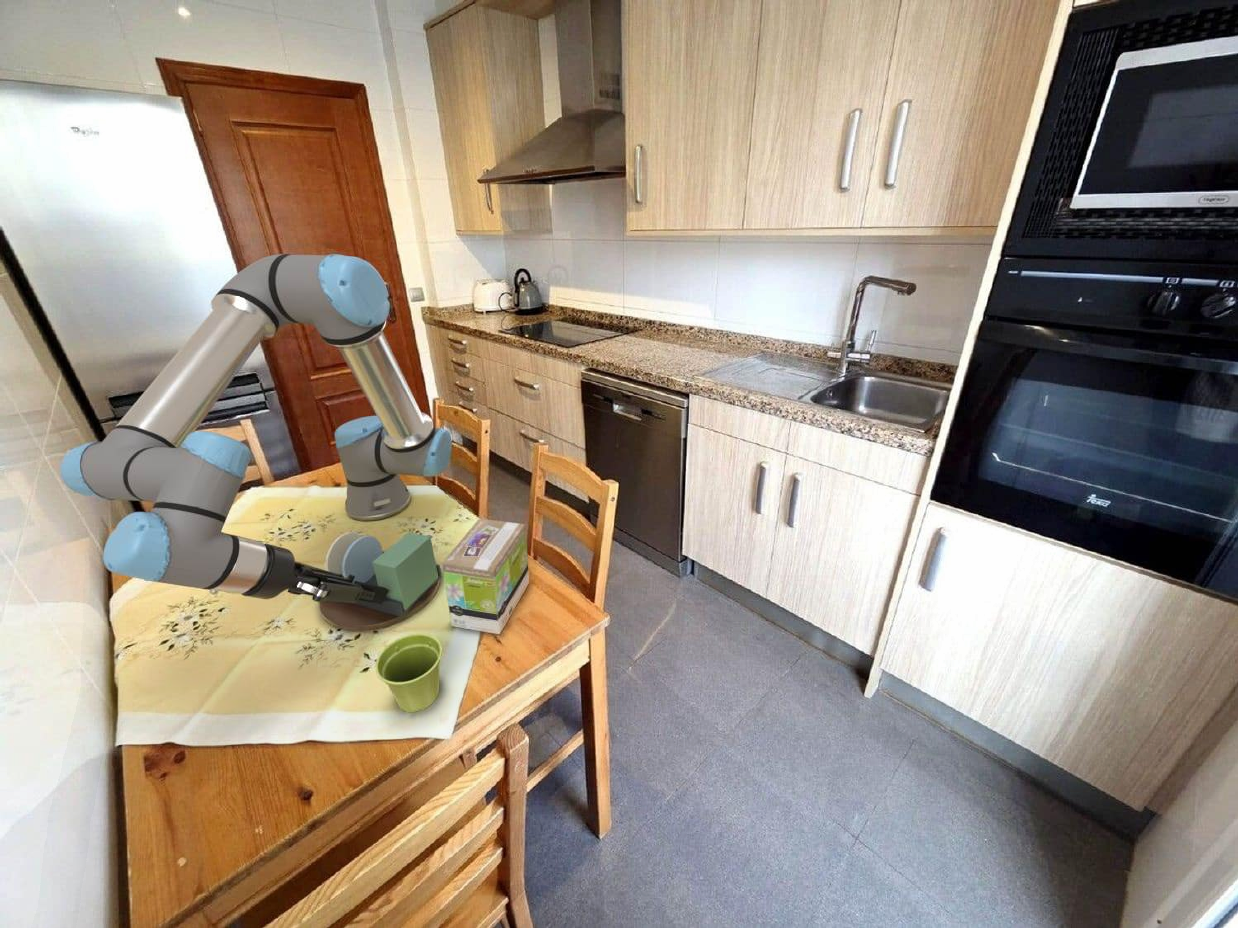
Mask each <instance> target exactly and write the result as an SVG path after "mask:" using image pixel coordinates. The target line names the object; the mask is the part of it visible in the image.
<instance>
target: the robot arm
mask: <svg viewBox="0 0 1238 928" xmlns="http://www.w3.org/2000/svg"><path fill="white" fill-rule="evenodd" d="M389 297H390V296H389V292H388V288H387V284H386V283H385V281H384V279H383V278H382V275H381V274H380V273H379V271H378V270H377V269H376V268H375V267H374V266H373V265H372V264H371V263H370V262H368V261H367V260H365V259H362V258H361V257H358V256H349V255H344V254H337V253H331V254H289V253H278V254H273V255H269V256H265V257H262V258H260V259H258V260H256V261H254V262H252V263H251V264H249V265H247V266H246V267H245V268H242V269H241V270H240V271H239V272H238V273H237V274H235V275H234V276H233V277H231V279H229V280H228V281H227V282H226V283H225V284H224V285H223V286H222V287H221V288H220V289H219V291H217V293H216V294H215V295H214V296H213V298H212V299H211V302H210V306H211V309H212V311H211V312H210V313H209V314H208V316H207V317H206V318H205V319H204V321H203V322H202V323H201V324H200V325H199V327H198V328H197V329H196V330H195V331H194V332H193V334H191V335H190V336H189V338H188V339H187V341H186V342H185V343H184V344H183V345H182V346H181V348H180V349H179V350H178V351H177V353H176V354H175V355H174V356H173V358H172V359H170V361H169V362H168V363H167V365H165V367H164V368H163V369H162V370H161V372H160V373H159V374H158V375H157V376H156V377H155V379H154V380H153V381H152V382H151V384H149V386H148V387H147V389H145V391H144V392H143V393H142V394H141V395H140V396H139V398H138V399H137V401H136V400H135V401H136V402H134V404H133V405H132V406H131V407H130V408H129V410H128V411H127V412H126V413H125V415H123V417H122V418H121V419H120V420H119V421H118V422H117V424H116V425H115V426H114V428H113V429H112V430H111V431H110V432H109V433H108V435H107V436H106V437H105V438H104V439H103V440H102V441H95V442H86V443H82V444H80V445H78V446H76V447H73V448H72V449H70V450H69V451H68V452H67V453H66V454H65V455H64V457H63V459H62V461H61V464H60V471H59V472H60V476H61V479H62V481H63V483H64V484H65V485H66V487H68V489H70V490H71V491H73V492H74V493H75V494H78V495H82V496H85V497H90V498H91V497H92V498H96V499H101V500H102V499H104V500H107V501H116V500H117V501H118V500H119V501H121V500H122V501H137V502H139V501H140V502H145V503H146V502H147V503H153V507H152V508H151V510H150V511H147V512H144V511H135V512H131V513H130V514H127V515H126V516H125V517H124V518H122V519H121V520H120V521H118V523H117V525H116V527H115V529H114V530H113V531H111V533H110V534H109V536H108V538H107V540H106V542H105V545H104V547H103V552H102V560H103V565H104V567H105V568H106V569H107V570H108V571H109V572H111V573H112V574H116V575H121V576H125V577H130V578H135V579H140V580H144V581H146V582H153V583H154V582H155V583H161V584H166V585H174V586H180V587H181V586H182V587H188V588H194V589H200V590H201V589H202V590H206V591H207V590H209V594H211V595H212V596H213V595H214V596H215V595H217V594H219V592H221V593H225V594H232V595H241V596H244V597H248V598H255V599H261V600H270V599H274V598H276V597H277V596H279V595H280V594H282V593H283V592H285V591H287V593H289V594H292V595H296V596H298V595H299V596H300V595H307V596H312V598H311V599H312V601H314V602H317V603H320V602H321V601H333V602H345V603H349V604H352V603H357V601H358V600H361V601H366V602H371V603H377V604H382V603H383V601H384V599H385V597H386V596H387V594H388V592H389V590H388V589H386V588H385V587H380V586H376V585H371V584H367V583H363V582H358V581H355V582H354V583H352V582H353V580H354V578H355V576H353V575H349V577H348V578H344V576H343V575H342V574H337V573H333V572H330V571H326V569H323V568H319V567H315V566H312V565H309V564H306V563H302V562H300V561H297V560H296V558H295V556H294V554H293V552H292V550H290V549H288V548H286V547H281V546H277V545H274V544H270V543H264V542H262V541H260V540H256V539H252V538H247V537H244V536H240V535H236V534H231V533H226V532H223V531H222V530H223V528H224V526H225V523H226V521H227V518H228V516H229V515H230V512H231V509H232V506H233V505H234V502H235V500H236V498H237V495H238V493H239V490H240V488H241V486H242V483H243V481H244V480H245V478H246V477H247V476H246V472H247V469H248V467H249V465H250V464H249V463H250V461H251V457H252V452H251V449H250V448H249V446H247V445H246V444H245V443H243V442H241V441H239V440H237V439H235V438H233V437H231V436H227V435H224V434H221V433H216V432H212V431H205V430H197V429H198V427H199V426H200V425H201V423H202V422H203V421H204V419H205V418H206V417H207V415H208V414H209V413H210V411H211V410H212V408H213V407H214V406H215V404H216V403H217V402H218V400H219V399H220V398H221V396H223V393H224V392H225V390H226V389H227V388H228V387H229V386H230V384H231V382H232V381H233V380H234V378H235V377H236V376H237V374H238V373H239V371H240V370H241V369H242V367H243V366H244V365H245V364H246V362H247V361H248V359H249V358H250V357H251V356H252V354H253V352H254V351H255V350H256V349H257V347H258V346H259V344H260V343H261V342H262V341H266V340H270V339H272V338H273V337H275V335H276V333H277V332H278V330H279V329H281V328H283V327H285V326H289V325H292V324H298V325H299V324H301V325H312V326H314V327H315V329H316V331H317V332H318V334H319V335H320V337H321V339H322V340H323V342H324V343H325V344H327V345H328V346H333V347H336V348H337V349H338V351H339V352H340V354H341V356H342V358H343V360H344V361H345V363H346V364H347V367H348V368H349V370H350V371H351V374H352V375H353V377H354V378H355V380H356V382H357V384H358V385H359V387H360V389H361V391H362V392H363V394H364V396H365V398H366V400H367V402H368V403H369V405H370V407H371V408H372V410H373V412H374V413H375V415H370V416H369V415H368V416H363V417H359V418H355V419H352V420H349V421H347V422H344V423H343V424H341V425H340V426H338V427H337V429H336V430H335V431H334V439H335V448H336V450H337V453H338V457H339V461H340V463H341V467H342V471H343V474H344V477H345V480H346V484H347V486H346V499H345V502H344V507H345V512H346V514H347V516H348V517H349V519H353V520H356V521H362V522H374V521H380V520H384V519H388V518H391V517H393V516H396V515H398V514H400V513H402V512H404V510H406V509H407V508H408V507H409V505H410V503H411V501H412V497H411V493H410V491H409V489H408V487H407V486H406V485H405V482H404V481H403V479H402V477H400V475H402V476H414V477H424V478H427V477H438V476H441V475H442V474H443V473H444V472H445V471H446V470H447V468H448V466H449V464H450V459H451V456H452V449H453V441H452V435H451V432H450V430H448V429H446V428H444V427H440V428H439V427H436V425H435V423H434V421H433V419H432V418H431V417H430V415H429V414H426V413H425V412H421V410H420V408H419V405H418V403H417V401H416V399H415V396H414V395H413V392H412V391H411V388H410V386H409V385H408V382H407V380H406V378H405V376H404V373H403V372H402V370H401V367H400V365H399V363H398V361H397V359H396V357H395V355H394V353H393V350H392V349H391V346H390V344H389V342H388V340H387V338H386V336H385V334H384V331H383V330H384V329H385V327H386V324H387V318H388V317H389V313H390V305H391V303H390V301H389V300H388V298H389ZM196 430H197V431H196Z"/></svg>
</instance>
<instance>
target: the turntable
mask: <svg viewBox="0 0 1238 928" xmlns="http://www.w3.org/2000/svg"><path fill="white" fill-rule="evenodd" d="M440 584H441V579H440V580H439V581H438V582H437V583H436V584H435V585H434V586H433V587H432V588H431V589H430V590H429V591H428V592H427V593H426V594H425V595H424V596H423V597H422V598H421V599H420V600H419V601H418V602H417V603H416V604H415V605H414V606H413V607H412V608H411V609H410V610H409V612H408V613H407V614H406V615H405V616H404V617H398V616H395V615H391V614H388V613H384V612H381V611H377V610H373V609H370V608H366V607H363V606H359V605H356V604H349V603H345V602H333V601H321V602H318V603H319V610H320V613H321V616H322V618H323V619H324V620H325V621H326V622H327V623H328V624H329V625H330V626H331V627H333V628H336V629H338V630H342V631H346V632H370V631H376V630H380V629H384V628H389V627H390V626H393V625H396V624H399V623H402V622H404V621H405V620H407V619H409V618H411V617H412V616H414V615H416V614H418V613H419V612H420V611H421V610H422V609H424V608H425V607H426V606H427V605H428V604H429V603H431V601H432V600H433V599H434V597H435V595H436V594H437V592H438V590H439V588H440Z"/></svg>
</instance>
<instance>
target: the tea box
mask: <svg viewBox="0 0 1238 928" xmlns="http://www.w3.org/2000/svg"><path fill="white" fill-rule="evenodd" d="M441 567H442V575H443V580H444V586H445V587H444V588H445V594H446V599H447V604H448V611H449V618H450V623H451V627H455V628H460V629H467V630H471V631H478V632H484V633H489V634H495V635H501V633H502V631H503V629H504V628H505V626H506V625H507V623H508V620H509V619H510V617H511V616H512V614H513V612H514V610H515V608H516V606H517V605H518V603H519V602H520V600H521V598H522V596H523V594H524V593H525V591H526V589H527V587H528V586H529V584H530V571H529V557H528V542H527V529H526V524H525V523H518V522H510V521H503V520H494V519H489V518H488V519H487V518H480V517H479V518H478V519H477V521H476V522H475V523H474V524H473V525H472V527H471V528H470V529H469V530H468V531H467V533H466V534H465V535H464V536H463V537H462V538H461V540H460V541H459V542H458V543H457V545H456V546H455V547H454V548H453V549H452V551H451V552H450V553H449V554H448V555H447V556H446V558H445V559H443V561H442V563H441Z"/></svg>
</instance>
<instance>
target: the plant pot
mask: <svg viewBox="0 0 1238 928" xmlns="http://www.w3.org/2000/svg"><path fill="white" fill-rule="evenodd" d="M442 656H443V646H442V643H441V642H440V640H439V639H438V638H437V637H436V636H434V635H432V634H429V633H411V634H407V635H404V636H401V637H399V638H396V639H395V640H393V641H392V642H390V643H389V644H388V645H386V647H384V648H383V649H382V650H381V652H380V653H379V655H378V657H377V659H376V661H375V666H374V668H375V673H376V675H377V677H378V679H379V680H380V681H382V682H383V683H385V684H386V685H387V687H388V688H389V690H390V692H391V693H392V695H393V698H395V701H396V703H397V705H398V706H399V708H400V709H401V710H402V711H403V712H407V713H415V712H417V711H423V710H426V709H427V708H429V707H430V706H431V705H433V704H434V703H435V701H436V700H437V698H438V696H439V693H440V676H439V675H440V674H439V672H440V671H439V669H440V668H439V665H440V663H441V659H442Z"/></svg>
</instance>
